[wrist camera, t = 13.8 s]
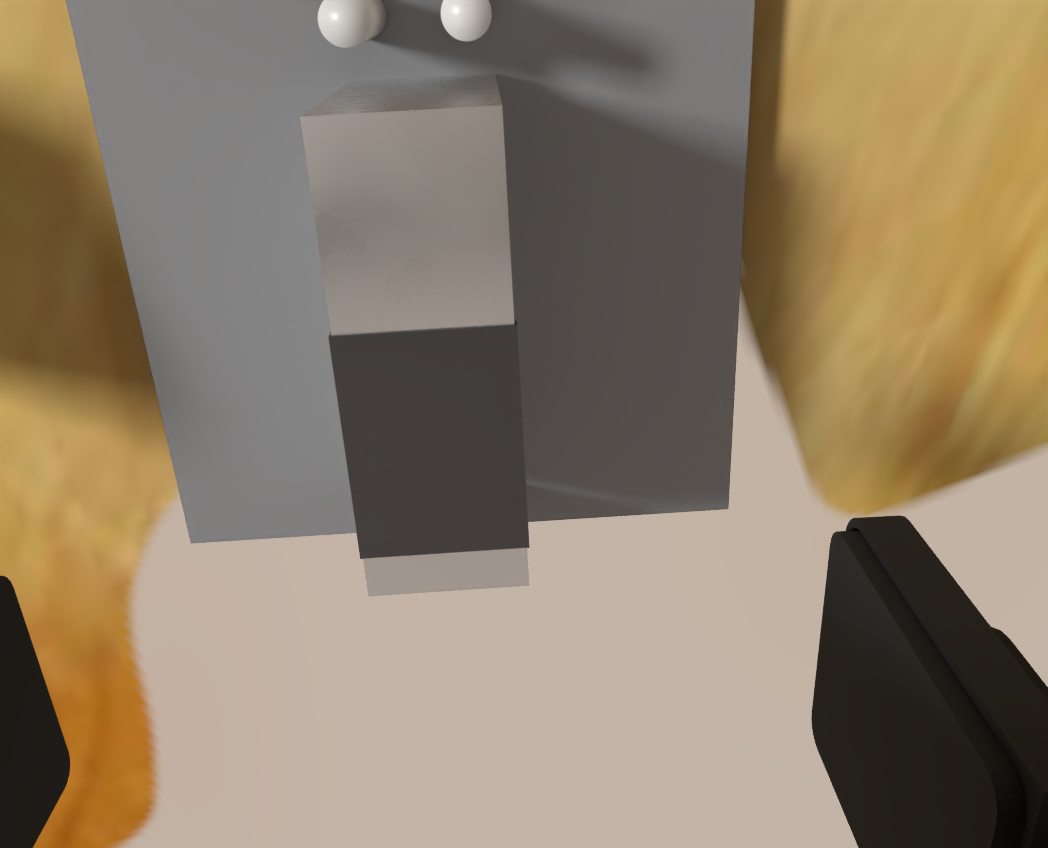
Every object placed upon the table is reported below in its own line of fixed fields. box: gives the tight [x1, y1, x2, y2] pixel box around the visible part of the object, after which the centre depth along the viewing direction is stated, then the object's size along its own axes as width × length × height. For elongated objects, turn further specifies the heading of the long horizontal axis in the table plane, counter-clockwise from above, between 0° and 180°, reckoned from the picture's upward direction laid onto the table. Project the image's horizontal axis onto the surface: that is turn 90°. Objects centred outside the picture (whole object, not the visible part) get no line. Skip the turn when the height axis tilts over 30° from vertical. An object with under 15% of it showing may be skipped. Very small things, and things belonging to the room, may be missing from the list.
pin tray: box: [66, 0, 755, 543], centre depth 23 cm, size 16×15×5 cm
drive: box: [300, 73, 529, 596], centre depth 21 cm, size 4×10×7 cm, turn 3°
